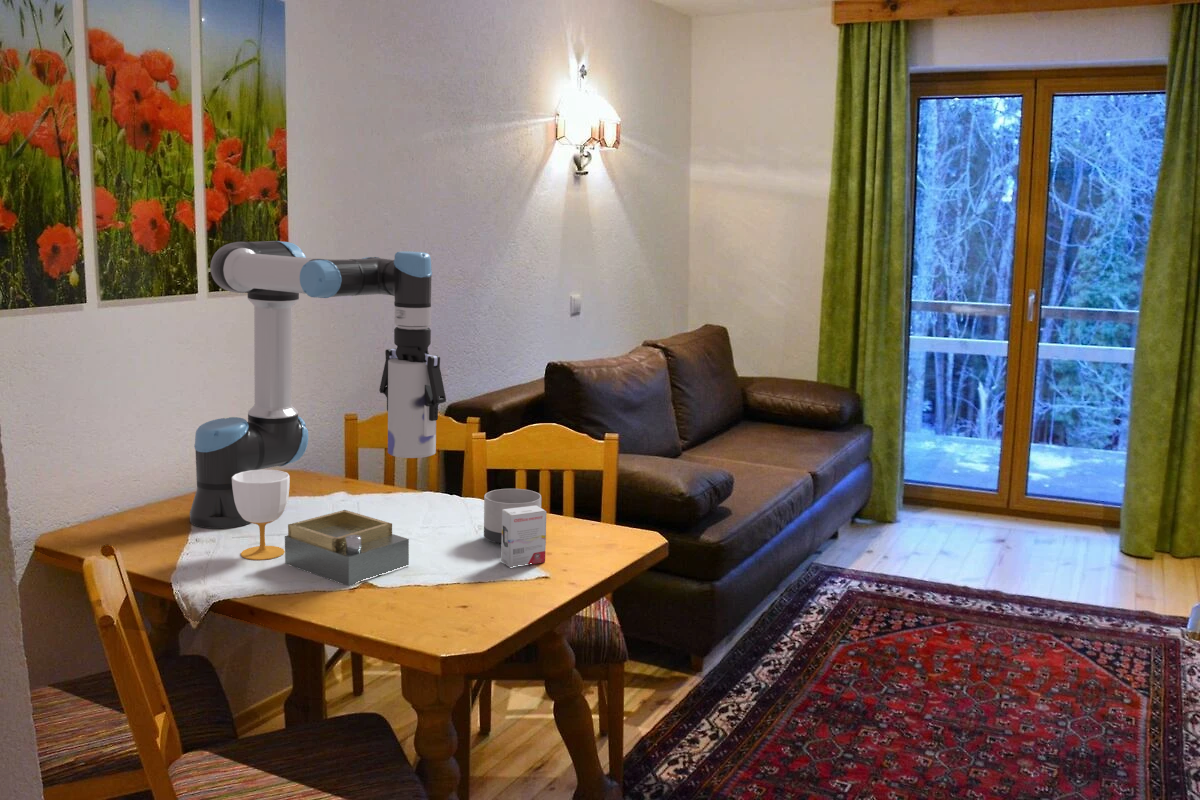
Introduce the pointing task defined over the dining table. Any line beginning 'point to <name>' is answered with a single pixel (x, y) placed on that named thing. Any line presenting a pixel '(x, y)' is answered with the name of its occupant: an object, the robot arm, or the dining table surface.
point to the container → (408, 410)
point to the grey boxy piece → (345, 547)
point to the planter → (504, 500)
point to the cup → (261, 505)
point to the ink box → (523, 535)
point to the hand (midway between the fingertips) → (411, 431)
